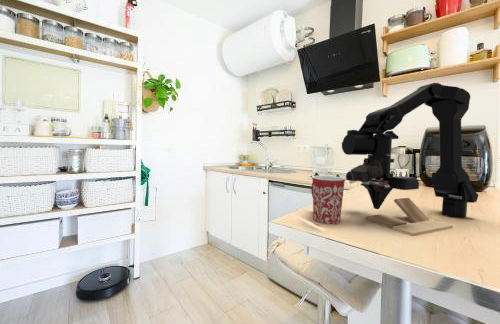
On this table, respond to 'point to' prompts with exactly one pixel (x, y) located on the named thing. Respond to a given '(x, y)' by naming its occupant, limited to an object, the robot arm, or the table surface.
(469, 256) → the table surface
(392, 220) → the plank
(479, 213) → the table surface
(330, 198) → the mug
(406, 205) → the plank
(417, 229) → the underlay base
